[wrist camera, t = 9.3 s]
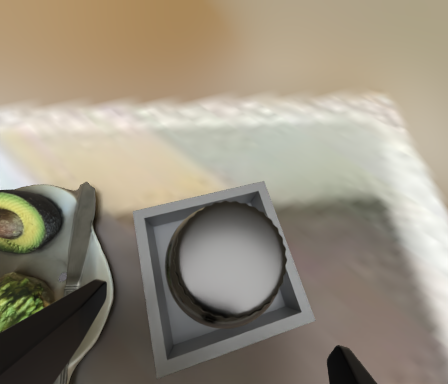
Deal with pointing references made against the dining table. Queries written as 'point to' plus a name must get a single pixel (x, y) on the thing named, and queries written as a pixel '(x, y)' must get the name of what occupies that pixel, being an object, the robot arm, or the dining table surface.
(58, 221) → the salad plate
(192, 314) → the supplement bottle
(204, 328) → the square tray
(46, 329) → the robot arm
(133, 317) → the dining table surface
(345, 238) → the dining table surface
